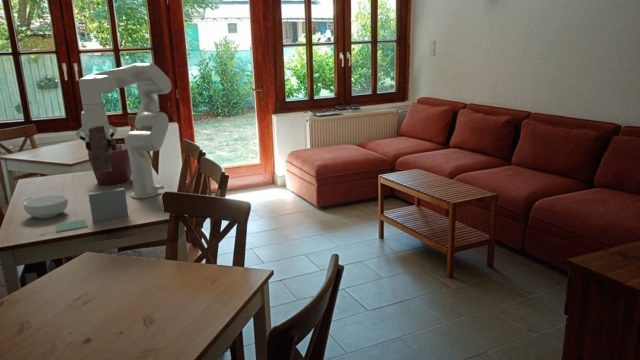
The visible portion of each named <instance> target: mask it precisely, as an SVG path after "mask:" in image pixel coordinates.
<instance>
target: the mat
mask: <svg viewBox="0 0 640 360" xmlns="http://www.w3.org/2000/svg"><path fill="white" fill-rule="evenodd" d="M55 228H56V233H62V232H67V231H73V230H79V229H84V228H89V227H88V224H87V221H86V219H85V218H84V219H78V220H72V221H67V222H62V223H60V222H59V223H56V224H55Z"/></svg>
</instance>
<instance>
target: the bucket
mask: <svg viewBox="0 0 640 360" xmlns="http://www.w3.org/2000/svg"><path fill="white" fill-rule="evenodd" d="M116 143H117V142H116V140H115V138H114V136H113V137H112V139H111V144H112V147H110V148H111V149H109V154H110V160H111V167H112V171H105V172H94V171H93V174H94V176H95V177H94V178H95V180H96V182H97V185H98V186H100V187H113V185H115V186H119V185H118V184H120V185H124V184H123V183H126V182H127V183H129V182H130V181H131V180H132V175H131V167H130V160H129V154H128V151H127V148H126V145H125V143H122V144H121V143H120V144H119V143H118V144H116ZM87 155H88V160H89V163H90V166H91V168H92V170H93V166H92V159H91V153H90V152H89V151H88V150H87ZM130 179H131V180H130ZM129 180H130V181H129ZM127 183H126V184H127Z"/></svg>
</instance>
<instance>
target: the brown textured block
mask: <svg viewBox="0 0 640 360" xmlns="http://www.w3.org/2000/svg"><path fill="white" fill-rule="evenodd" d="M88 142H89V144H90V150H91V151H90V153H91V159H92V166H93V169H92V171H93V173H94V172H105V171H112V167H111V160H110V154H109V148H108V142H107V136H106V134H105V130H104V126H102V127H96V128H92V129H89V139H88ZM92 166H91V167H92Z"/></svg>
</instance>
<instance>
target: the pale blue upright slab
mask: <svg viewBox="0 0 640 360" xmlns="http://www.w3.org/2000/svg"><path fill="white" fill-rule="evenodd" d="M87 195H88V201H89V207H90V214H91V221H92V222H93V223H96V222H101V221H102V222H104V221H109V220H114V219H118V218H127V217H129V209H128V203H127V194H126V189H125V188H124V187H122V188H117V189H115V188H114V189H109V190H102V191H96V192H89V193H87Z"/></svg>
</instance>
